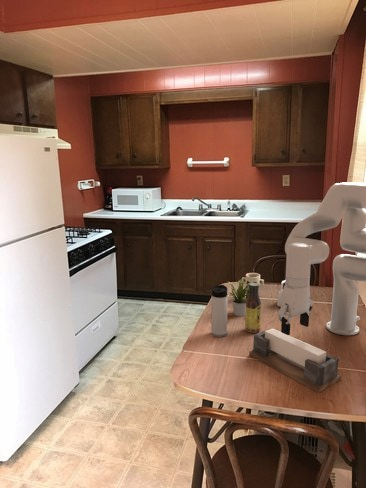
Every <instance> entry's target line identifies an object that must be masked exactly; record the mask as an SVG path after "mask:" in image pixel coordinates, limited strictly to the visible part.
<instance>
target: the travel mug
mask: <svg viewBox="0 0 366 488" xmlns="http://www.w3.org/2000/svg"><path fill="white" fill-rule="evenodd" d="M228 297H229V295H228V287H227V286H226V285H225V284H217V285H214V286H213V287H212V288H211V316H210V317H211V318H210V319H211V324H210V325H211V326H210V327H211V331H210V332H211V333H210V334H211V336H213V337H214V338H215V337H216V338H223V337H227V335H228Z"/></svg>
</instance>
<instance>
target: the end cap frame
mask: <svg viewBox="0 0 366 488" xmlns="http://www.w3.org/2000/svg"><path fill="white" fill-rule="evenodd" d="M269 329H270V328H269ZM269 329H266V330H264V331H261V332H257V333H255V334H254V335H253V344H252V345H253V349H251V350H249V351H248V353H249V354H248V356H250V357H252V358H253V359H255V360H257V361H259V362H261V363H263V364H265V365H267V366H268V367H270V368H272V369H274V370H276V371H278V372H280V373H282V374H283V375H285V376H287V377H289V378H290V379H292V380H295V381H296V382H298V383H300V384H302V385H303V386H305V387H307V388H309V389H310V390H312V391H315V392H316V393H318V394H319V393H321V392H323V391H325V390H326V389H327V388H329V387H331V386H333V385H334V384H336V383H338V382H339V381H341V380H342V375H341V374H340V373H339V372H338V371H339V361H340V359H339V358H337V357H334V356H332V355H331V354H328V353H326V362H325V363H323V364H321V365H320V364H318V363H316V362H314V361H312V360H310V359H307V360H305V367H304V366H302V365H300V364H298V363H296V362H294V361H292V360H290V359H288V358H286V357H284V356H282V355H280V354H278V353H276V352H274V351H272V350H270V349H269V340H268V339H266V338H265V331H267V330H269Z"/></svg>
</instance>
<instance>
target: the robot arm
mask: <svg viewBox="0 0 366 488" xmlns="http://www.w3.org/2000/svg"><path fill="white" fill-rule="evenodd" d="M341 221H342V223H341ZM340 223H341V230H340V238H339V239H340V241H339V244H340V245H339V246H340V247H341V249H342V250H343V251H347V252H351V253H358V254H364V255H366V182H351V181H350V182H347V181H346V182H340V183H339V182H338V183H337V182H336V183H334V184H333V185H331V186H330V187H329V189H327V192H326V195H325V196H324V198H323V199H322V202H321V204H320V206H319V207H318V209H317V211H316V212H314V213H313V214H310V215H309V216H307V217H306V218H303V220H301V221H300V222H298V223H297V224H296V225H295V226H294V228H293V229H291V232H290V233H289V234H288V237H287V239H286V242H285V244H284V252H285V254H286V260H285V263H286V265H285V280H286V282H285V286H284V288H283V293H282V299H281V307H280V309H279V310H278V311H277V317H278V320H279V322H281V327H280V332H282V333H284V334H286V335H289V336H291V320H292V319H293V318H295V317H298V316H299V325H301V326H303V327H306V328H307V327H309V322H310V316H311V311H312V309H313V305H314V300H313V299H311V286H310V280H311V279H310V278H311V265H315V264H321V263H323V262H326V260H327V259H328V258H329V255H330V246H329V244H328V243H327V242H325V241H323V240H320V239H319V240H318V239H313V238H307V237H308V236H309V235H312V234H314V233H318V232H321V231H327V230H330V229H334V228H336V227H338V226H339V224H340ZM332 274H333V287H332V288H333V289H332V301H331V314H330V321H327V322H326V329H327V330H328V331H329V332H331V333H334V334H336V335H342V336H355V335H357V334H359V333H360V327H359V326H358V325H357V324H356V323H357V322H358V321H360V320H361V316H360V315H357V312H358V304H359V303H358V301H359V294H360V293H359V292H360V289H359V285H358V283H357V282H360V283H366V257H363V256H360V255H354V254H348V253H345V254H344V253H342V254H341V253H340V254H338V255H336V256H335V257H334V259H333V261H332ZM356 281H357V282H356ZM286 317H287V318H286Z"/></svg>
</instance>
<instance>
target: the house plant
mask: <svg viewBox="0 0 366 488" xmlns="http://www.w3.org/2000/svg"><path fill="white" fill-rule="evenodd" d="M237 281H238V287H237V288H235V286H234V284H232V283H231V282H230V281H228V280H227V283H229V288H231V292H228V294H229V295H228V297H233V299H232V302H231V303H232V309H233V314H234V315H235V316H236V317H243V316H245V309H246V299H247V298H246V296H247V295H249V294H246V293H247V292H248V291H249V290H248V288H249V284H250V283H251V282H253V281H251V282H250V283H248V284H247V286H246V285H245V284H243V280H242V279H239V280H238V279H237ZM247 290H248V291H247Z"/></svg>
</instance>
